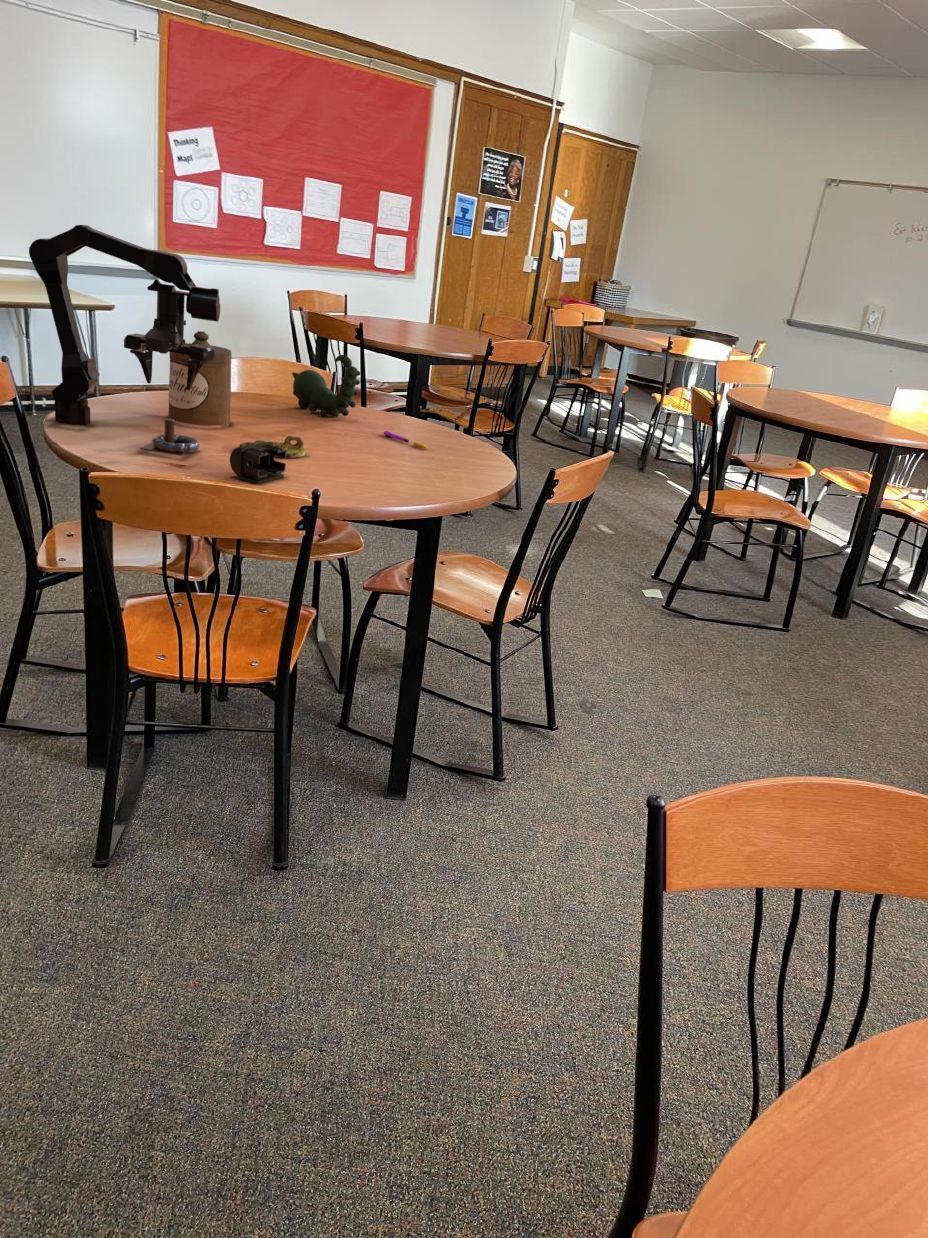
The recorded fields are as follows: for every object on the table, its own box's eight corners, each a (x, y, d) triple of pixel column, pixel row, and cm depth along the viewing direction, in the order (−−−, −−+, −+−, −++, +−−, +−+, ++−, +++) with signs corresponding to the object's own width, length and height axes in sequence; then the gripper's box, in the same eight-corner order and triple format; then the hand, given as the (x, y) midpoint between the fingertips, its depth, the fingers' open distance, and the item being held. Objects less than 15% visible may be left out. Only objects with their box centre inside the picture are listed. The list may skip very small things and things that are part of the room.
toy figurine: (359, 427, 256) (300, 400, 268) (370, 360, 248) (309, 336, 260) (335, 429, 249) (276, 401, 261) (346, 360, 241) (284, 335, 253)
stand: (140, 453, 191) (140, 419, 188) (156, 444, 200) (157, 412, 197) (181, 460, 191) (182, 426, 188) (196, 451, 199) (197, 419, 197)
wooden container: (155, 417, 223) (156, 325, 215) (202, 413, 235) (204, 326, 227) (196, 431, 217) (199, 337, 208) (242, 426, 228) (246, 337, 220)
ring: (145, 448, 191) (145, 439, 190) (162, 440, 199) (162, 431, 199) (189, 456, 190) (189, 446, 190) (204, 446, 199) (205, 438, 198)
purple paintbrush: (382, 434, 242) (425, 449, 233) (383, 430, 242) (426, 445, 233) (389, 436, 244) (431, 451, 235) (390, 431, 244) (432, 447, 235)
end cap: (259, 469, 193) (261, 438, 191) (286, 477, 191) (288, 445, 188) (228, 476, 185) (229, 444, 182) (255, 484, 182) (257, 452, 179)
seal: (239, 459, 202) (306, 463, 207) (240, 439, 200) (308, 444, 204) (238, 445, 210) (303, 449, 214) (239, 425, 208) (304, 430, 212)
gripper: (112, 309, 190) (112, 384, 196) (198, 324, 189) (195, 398, 195) (135, 306, 200) (134, 377, 206) (216, 320, 199) (213, 391, 205)
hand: (168, 386), depth 203 cm, fingers open, 9 cm apart
